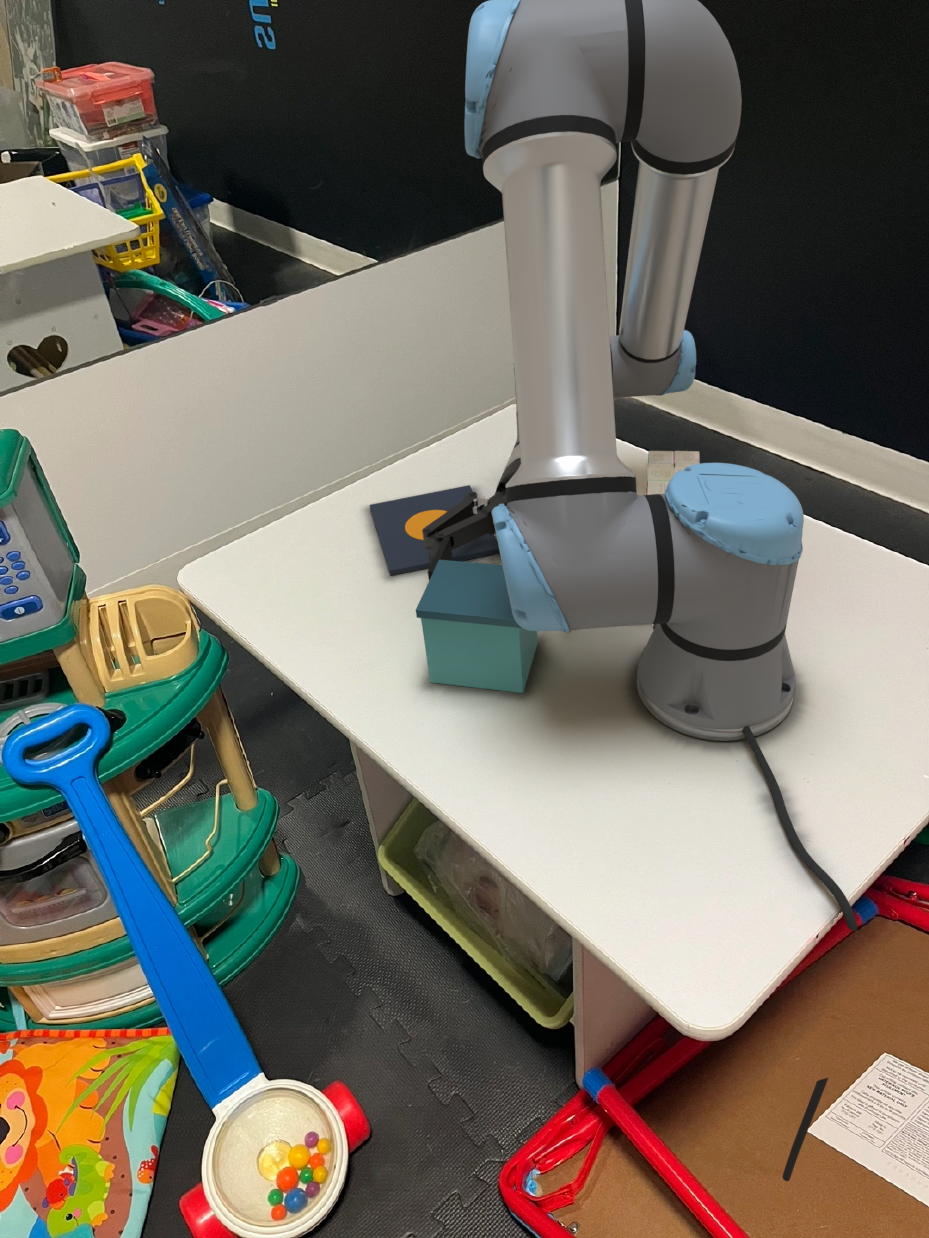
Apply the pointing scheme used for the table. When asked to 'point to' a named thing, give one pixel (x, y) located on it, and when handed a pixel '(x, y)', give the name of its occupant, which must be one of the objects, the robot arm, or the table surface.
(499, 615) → the teal box
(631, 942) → the table surface
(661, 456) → the stack of blocks
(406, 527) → the mat
